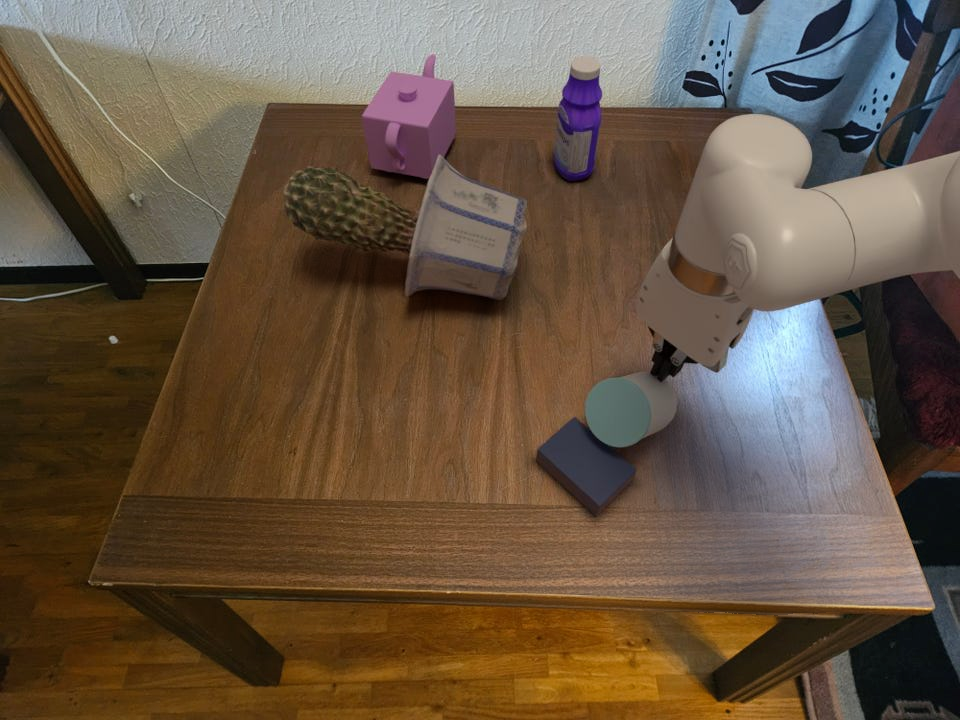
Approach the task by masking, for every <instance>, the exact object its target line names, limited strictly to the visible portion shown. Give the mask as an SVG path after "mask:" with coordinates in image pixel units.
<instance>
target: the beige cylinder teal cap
mask: <svg viewBox="0 0 960 720" xmlns="http://www.w3.org/2000/svg"><path fill="white" fill-rule="evenodd" d="M677 407H678V401H677V396H676V393H675V390H674V388H673V387H672V385H671V383H669V381H668V380H667V378H666V379H665V380H664V381H662V382H660V381H659V380H658V378H657V376H653V375H651V374H650V371H645V370H644V371H643V370H642V371H638V372H634V373H631V374H626V375H622V376H619V377H608V378H605V379H603V380H600V381H599V382H597V383H596V384H594V386H592V388H591V389H590V391H589V392H588V394H587V396H586V399H585V404H584V416H585V421H586V423H587V427H588V428H589V429H590V430H591V431H592V432H593V434H594V435H595V436H596V437H597V438H598V439H599V440H600V441H602V442H603V443H605V444H607V445H608V446H610V447H613V448H627V447H631V446H633V445H635V444H637V443H638V442H640V441H641V440H642V439H644V438H646V437H648V436H651V435H653V434H656V433H658V432H660V431H662V430H663V429H665V428H667V427H668V426H669V425H670V424H671V423H672V421H673V419H674V418H675V415H676V412H677Z"/></svg>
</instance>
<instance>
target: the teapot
mask: <svg viewBox="0 0 960 720" xmlns="http://www.w3.org/2000/svg"><path fill="white" fill-rule="evenodd" d="M436 60H437V56H436V55H435V54H430V55H429V56H428V57H427V58H426V60H425V62H424V65H423V71H422V74H421V75H417V74H411V73H404V72H398V71H392V70H391V71H390V72H389V74H388V75H387V76H386V78H385V80H384V81H383V82H382V84H381V85H380V86H379V88H378V90H377V91H376V93H375V94H374V96H373V98H372V99H371V101H370V102H369V104H368V105H367V107H366V108H365V110H364V111H363V113H362V115H361V122H362V123H361V124H362V128H363V133H364V138H365V144H366V149H367V154H368V160H369V166H370V169H375V170H379V171H385V172H387V173H396V174H401V175H407V176H413V177H416V178H417V177H418V178H421V179H424V180H429V178H430V176H431V174H432V171H433V168H434V166H435V163H436V160H437V157H438V155H441V156H442V157H443V158H444V159H445V156H446V154H447V152H448V150H449V148H450V146H451V144H452V142H453V141H454V138H455V136H456V134H457V123H456V104H455V103H456V101H455V84H454V80H448V79H442V78H436V77H435V65H436Z"/></svg>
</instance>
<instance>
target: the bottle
mask: <svg viewBox="0 0 960 720" xmlns="http://www.w3.org/2000/svg"><path fill="white" fill-rule="evenodd" d="M601 66H602V64H601V62H600V60H598V59H597V58H595V57H593V56H589V55H580V56H577V57H575V58H572V60H571V62H570V68H569V75H568V79H567V82H566V84H565V85H564V86H563V87H562V90H561V95H562V98H561V99H560V101H559V104H558V108H557V121H556V132H555V141H554V152H553V162H554V166H555V168H556V170H557V172H558V173H559V175H561V176H562V178H564V179H565V180H567V181H570V182H571V181H574V182H575V181H581V180H584V179H587V178H589V177H591V175H592V173H593V172H594V170H595V165H596V164H595V163H596V156H597V150H598V143H599V138H600V137H599V136H600V132H601V131H600V130H601V124H602V108H601V100H602V98H603V90H602V88H601V85H600V75H601V68H602V67H601Z"/></svg>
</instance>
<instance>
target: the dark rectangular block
mask: <svg viewBox="0 0 960 720" xmlns="http://www.w3.org/2000/svg"><path fill="white" fill-rule="evenodd" d="M535 457H536V458H535V462H536V463H537V464H538V465H539V466H540V467H541V468H543V470H545V471H546V472H547V473H548V474H549V475H550V476H551V477H552V478H553V479H555V480H556V482H557V483H559V484H560V485H561V486H562V487H563V488H564V489H565V490H566V491H567V492H568V493H570V494H571V496H573V497H574V498H575V499H576V500H577V501H578V502H579V503H580V504H581V505H582V506H583V507H585V508H586V510H587V511H589V512H590V513H591V514H592V515H593V516H594V517H595V518H597V517H598V516H599V515H600V514H601V513H602V512H603V511H604V510H605V509H606V508H607V507H608V506H609V505H610V504H611V503H612V502H613V501H614V500H615V499H616V498H617V497H618V496H619V495H620V494H622V492H623V491H625V489H627V488H628V486H630V485H631V483H633V480H634V479H635V476H636V474H637V471H638V470H637V468H636V467H634V466H633V465H632V464H631V463H630V462H628V461H627V460H626V459H625V458H624V457H622V456H621V455H620V454H619V453H617V451H616V450H614V449H613V448H612V446H610V445H607V444H605V443H603V442H602V441H600V440H599V439H598V438H597V437H596V436H595V435H594V434H593V432H592V431H591V430H590V428H589V427H588V426H586V425H585V424H584V423H583V422H582V421H580V419H578V418H577V417H576V416H573V417H572V418H571V419H570V420H568V421H567V423H566V424H564V425H563V426H562V427H561V428H559V429H558V431H556V432H555V433H554V434H552V436H551V437H549V438H548V439H547V440H546V441H545V442H544V443H542V444H541V445H540V446H539V447H538V448H537V449H536V456H535Z"/></svg>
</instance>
